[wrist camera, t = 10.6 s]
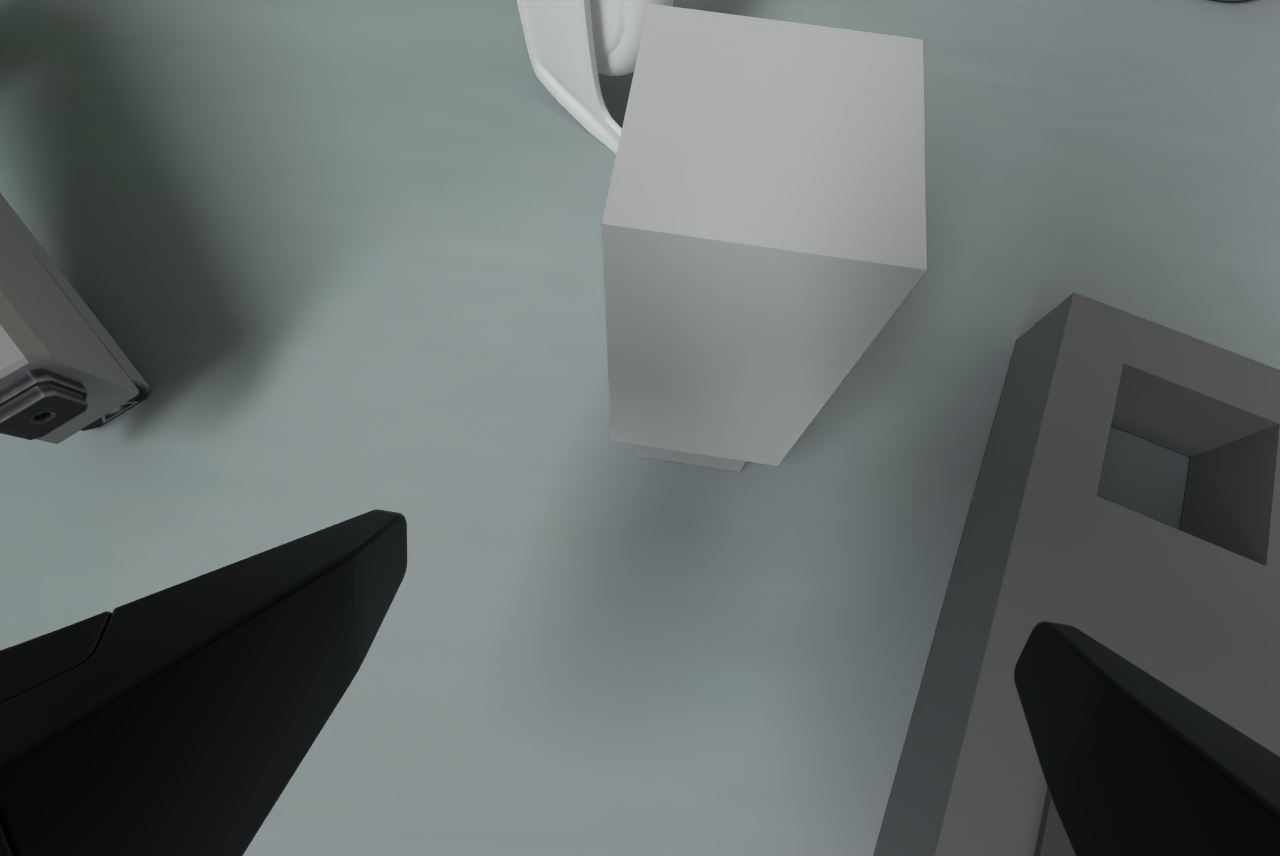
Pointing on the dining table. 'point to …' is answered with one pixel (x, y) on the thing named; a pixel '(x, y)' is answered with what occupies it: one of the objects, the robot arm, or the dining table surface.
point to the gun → (53, 348)
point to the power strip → (1096, 568)
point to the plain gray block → (756, 228)
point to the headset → (584, 52)
